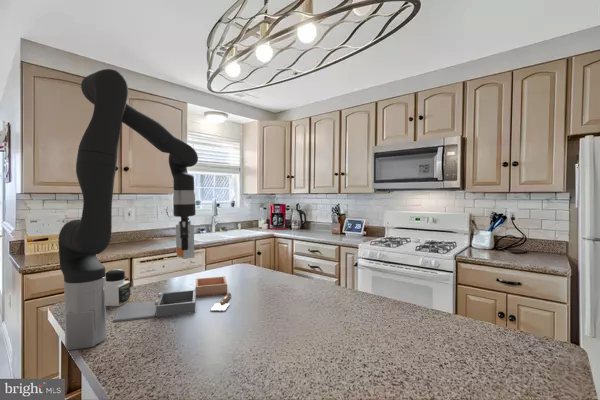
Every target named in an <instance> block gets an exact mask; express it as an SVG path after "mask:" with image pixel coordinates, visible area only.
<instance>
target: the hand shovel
mask: <svg viewBox="0 0 600 400" xmlns="http://www.w3.org/2000/svg"><path fill="white" fill-rule="evenodd" d="M231 297H232V294H231V292H227V294H225V295H224V297H223V299H222V300H221V301H220V303H214V305H213V306H212V308H211V309H210V310H209V311H210V312H213V313H214V312H215V313H221V312H223V313H225V312H226V311H227V310H228V309H229V307H230V304H231V303H227V302H228V300H229V299H230V298H231Z"/></svg>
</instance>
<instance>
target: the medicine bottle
mask: <svg viewBox="0 0 600 400" xmlns="http://www.w3.org/2000/svg"><path fill="white" fill-rule="evenodd" d="M125 275H126V273H125V270H123V269H121V268H120V269H117V268H116V269H112V270H109V271H105V280H106V307H120V306H123V305H125V303H127V302H128V301H130V300H131V281H130V280H126V276H125Z"/></svg>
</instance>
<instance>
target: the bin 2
mask: <svg viewBox="0 0 600 400" xmlns="http://www.w3.org/2000/svg"><path fill="white" fill-rule="evenodd" d="M195 290H196V298H202V297H211V296H220V295H227V294H228V282H227V280H226V276H213V277H201V278H195Z"/></svg>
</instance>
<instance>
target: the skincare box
mask: <svg viewBox="0 0 600 400" xmlns="http://www.w3.org/2000/svg"><path fill="white" fill-rule="evenodd" d="M194 225H195V224H190V225H188V227H189V226H190V233H189V234H188V237H189V238H188V250H182V249H181V239H180V232H179V223H178V224H175V242H176V243H175V245H176V247H175V248H176V249H175V250H176V252H175V253H176V257H177V258H179V259H183V260H188V259H192V258H195V226H194ZM182 235H186V233H183V234H182Z"/></svg>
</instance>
